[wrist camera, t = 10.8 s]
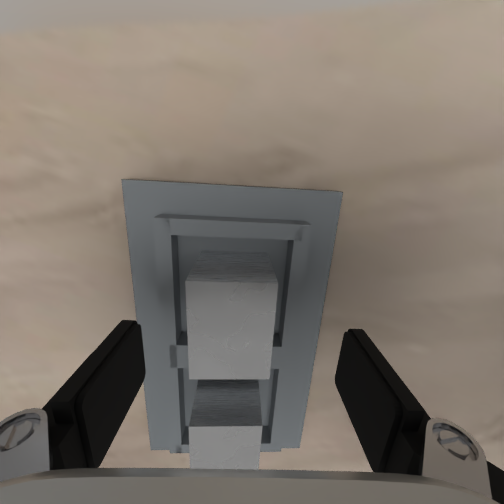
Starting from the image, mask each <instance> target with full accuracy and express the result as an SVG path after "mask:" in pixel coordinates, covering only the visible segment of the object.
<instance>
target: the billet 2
mask: <svg viewBox="0 0 504 504" xmlns="http://www.w3.org/2000/svg"><path fill="white" fill-rule="evenodd" d="M262 427H263V426H262V415H261V403H260V392H259V381H258V379H198V384H197V389H196V393H195V398H194V403H193V408H192V413H191V417H190V422H189V452H190V468H191V469H257V470H258V468H259V457H260V447H261V437H262Z"/></svg>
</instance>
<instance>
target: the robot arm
mask: <svg viewBox="0 0 504 504" xmlns="http://www.w3.org/2000/svg"><path fill="white" fill-rule="evenodd" d="M145 375H146V368H145V359H144V349H143V339H142V329H141V325H140V324H138V323H137V321H133V320H122V321H121V322H120V323H119V324H118V325H117V326H116V327H115V328H114V330H113V331H112V332H111V333H110V334H109V335H108V336H107V337H106V339H105V340H104V341H103V342H102V343H101V344H100V345H99V346H98V348H97V349H96V350H95V351H94V352H93V353H92V354H91V355H90V356H89V357H88V358H87V359H86V360H85V361H84V362H83V363H82V365H81V366H80V367H79V368H78V369H77V370H76V371H75V372H74V374H73V375H72V376H71V377H70V378H69V379H68V380H67V381H66V383H65V384H64V385H63V386H62V387H61V388H60V389H59V390H58V391H57V393H56V394H55V395H54V396H53V397H52V398H51V399H50V400H49V402H48V403H47V404H46V405H45V406H44V407H43V408H42V409H38V408H32V409H26V410H23V411H20V412H17V413H15V414H13V415H11V416H9V417H7V418H6V419H4V420H3V421H1V422H0V504H504V471H503V470H501V469H500V468H498V467H496V466H495V465H493V464H491V463H490V462H488V461H486V457H485V454H484V451H483V449H482V448H481V446H480V445H479V443H478V442H477V441H476V440H475V439H474V438H473V437H472V436H471V435H470V434H469V433H468V432H466V431H465V430H464V429H462V428H461V427H459V426H458V425H456V424H454V423H452V422H450V421H447V420H445V419H440V418H432V419H431V418H430V417H429V416H428V414H427V413H426V412H425V410H424V409H423V407H422V406H421V405H420V403H419V402H418V401H417V399H416V398H415V397H414V395H413V394H412V393H411V392H410V390H409V389H408V388H407V386H406V385H405V384H404V382H403V381H402V380H401V378H400V377H399V376H398V375H397V373H396V372H395V371H394V369H393V368H392V367H391V365H390V364H389V363H388V362H387V360H386V359H385V358H384V356H383V355H382V354H381V352H380V351H379V350H378V348H377V347H376V346H375V345H374V343H373V342H372V341H371V339H370V338H369V337H368V335H367V334H366V333H365V331H364V330H362V329H349V330H348V332H345V333H344V336H343V341H342V346H341V351H340V356H339V360H338V365H337V370H336V375H335V384H336V387H337V389H338V392H339V394H340V396H341V399H342V401H343V403H344V406H345V408H346V410H347V413H348V415H349V417H350V420H351V422H352V424H353V427H354V429H355V431H356V434H357V436H358V438H359V441H360V443H361V445H362V448H363V450H364V452H365V455H366V457H367V459H368V462H369V464H370V466H371V468H372V470H373V472H351V471H307V470H257V469H191V468H98V467H99V466H100V464H101V463H102V461H103V459H104V457H105V455H106V453H107V451H108V449H109V447H110V445H111V443H112V441H113V439H114V437H115V436H116V434H117V432H118V430H119V428H120V426H121V424H122V422H123V420H124V418H125V416H126V414H127V412H128V410H129V408H130V406H131V404H132V402H133V401H134V399H135V397H136V395H137V393H138V391H139V389H140V387H141V385H142V383H143V381H144V379H145Z"/></svg>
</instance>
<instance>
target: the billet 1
mask: <svg viewBox="0 0 504 504" xmlns="http://www.w3.org/2000/svg"><path fill="white" fill-rule="evenodd" d="M185 287H186V312H187V336H188V361H189V379H269V378H270V367H271V356H272V346H273V335H274V324H275V313H276V302H277V292H278V281H277V279H276V276H275V273H274V270H273V267H272V265H271V262H270V259H269V256H268V253H267V252H243V251H213V250H202V251H201V252H200V254H199V256H198V258H197V260H196V262H195V264H194V266H193V268H192V269H191V271H190V273H189V275H188V277H187V279H186V281H185Z"/></svg>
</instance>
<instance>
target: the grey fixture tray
mask: <svg viewBox="0 0 504 504" xmlns="http://www.w3.org/2000/svg"><path fill="white" fill-rule="evenodd" d="M121 180H122V189H123V198H124V207H125V216H126V226H127V235H128V244H129V253H130V262H131V272H132V281H133V290H134V299H135V308H136V318H137V323H138V324H140V325H141V329H142V339H143V349H144V359H145V368H146V375H145V379H144V381H143V382H144V391H145V401H146V410H147V419H148V428H149V437H150V447H151V450H170V453H190V452H189V422H190V417H191V413H192V408H193V403H194V398H195V393H196V389H197V384H198V379H189V361H188V336H187V312H186V287H185V281H186V279H187V277H188V275H189V273H190V271H191V269H192V268H193V266H194V264H195V262H196V260H197V258H198V256H199V254H200V252H201V251H202V250H213V251H243V252H267V253H268V256H269V259H270V262H271V265H272V267H273V270H274V273H275V276H276V279H277V281H278V292H277V302H276V313H275V324H274V335H273V346H272V356H271V367H270V378H269V379H258V381H259V392H260V403H261V415H262V426H263V427H262V437H261V447H260V452H278V451H281V448H300V442H301V436H302V430H303V424H304V418H305V412H306V407H307V401H308V395H309V389H310V383H311V377H312V371H313V365H314V360H315V354H316V348H317V342H318V336H319V330H320V324H321V318H322V313H323V307H324V301H325V295H326V289H327V283H328V277H329V271H330V266H331V260H332V254H333V248H334V242H335V236H336V230H337V224H338V219H339V213H340V207H341V201H342V195H343V192H339V191H325V190H307V189H290V188H272V187H255V186H237V185H220V184H203V183H185V182H168V181H150V180H133V179H121Z"/></svg>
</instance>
